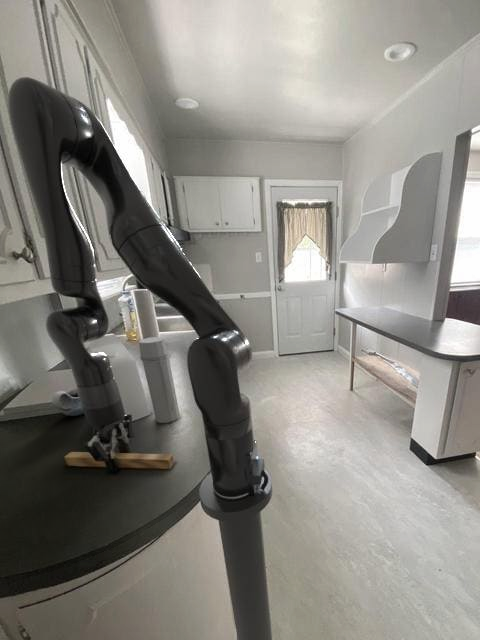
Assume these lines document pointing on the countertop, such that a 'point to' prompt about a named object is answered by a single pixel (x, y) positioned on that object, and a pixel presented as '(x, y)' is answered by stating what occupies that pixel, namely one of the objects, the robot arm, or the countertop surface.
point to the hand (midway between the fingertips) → (120, 463)
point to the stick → (123, 460)
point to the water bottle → (159, 379)
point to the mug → (68, 402)
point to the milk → (124, 375)
